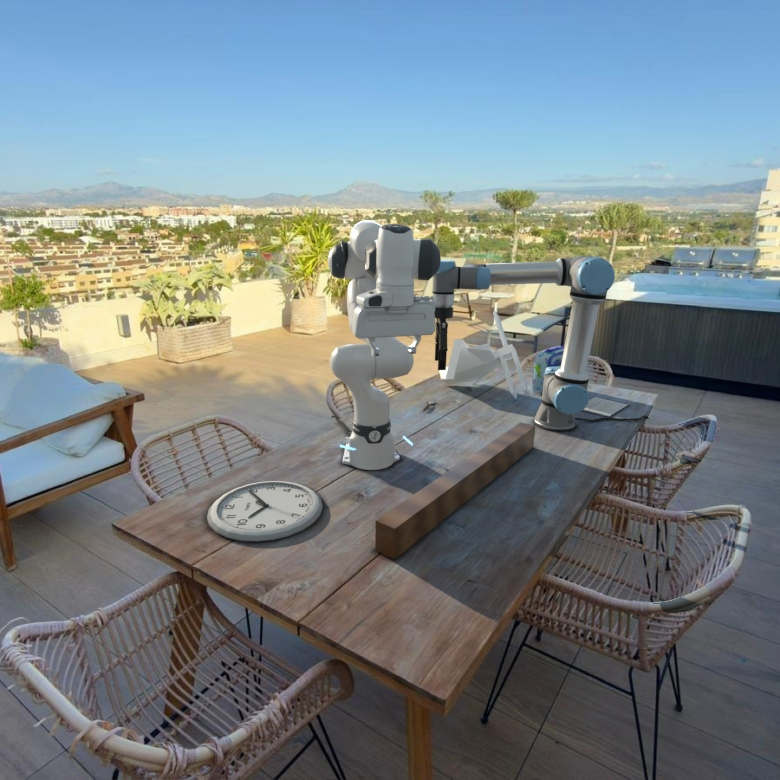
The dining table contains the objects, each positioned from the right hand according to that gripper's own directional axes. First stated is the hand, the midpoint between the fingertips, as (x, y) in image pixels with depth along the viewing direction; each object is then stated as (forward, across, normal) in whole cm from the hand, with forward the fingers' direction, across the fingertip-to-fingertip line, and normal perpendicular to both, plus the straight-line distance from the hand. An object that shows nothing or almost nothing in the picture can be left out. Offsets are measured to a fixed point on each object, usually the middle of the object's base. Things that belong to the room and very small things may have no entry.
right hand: (440, 365), depth 188 cm
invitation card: (+26, -32, +74) cm, 84 cm away
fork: (+26, -28, -1) cm, 38 cm away
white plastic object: (+26, -50, +24) cm, 61 cm away
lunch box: (+26, -54, +59) cm, 84 cm away
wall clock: (+26, +58, -51) cm, 81 cm away
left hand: (-18, +59, -17) cm, 64 cm away
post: (+26, +45, +6) cm, 52 cm away
